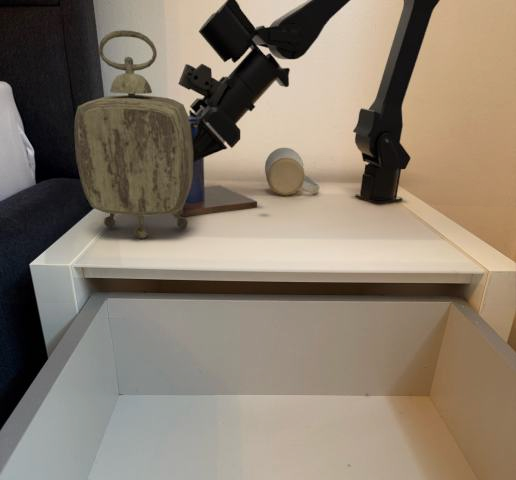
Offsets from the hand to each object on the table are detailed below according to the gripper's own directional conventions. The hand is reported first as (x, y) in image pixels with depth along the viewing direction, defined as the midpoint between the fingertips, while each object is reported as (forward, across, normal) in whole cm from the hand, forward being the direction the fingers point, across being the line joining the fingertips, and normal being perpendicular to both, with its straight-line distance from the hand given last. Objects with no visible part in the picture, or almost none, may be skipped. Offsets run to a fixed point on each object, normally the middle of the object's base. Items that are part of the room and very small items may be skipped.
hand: (179, 159), depth 83 cm
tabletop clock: (+10, +16, +1) cm, 19 cm away
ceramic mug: (-10, -8, +21) cm, 25 cm away
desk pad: (+2, -2, +8) cm, 9 cm away
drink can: (+4, 0, +6) cm, 7 cm away
